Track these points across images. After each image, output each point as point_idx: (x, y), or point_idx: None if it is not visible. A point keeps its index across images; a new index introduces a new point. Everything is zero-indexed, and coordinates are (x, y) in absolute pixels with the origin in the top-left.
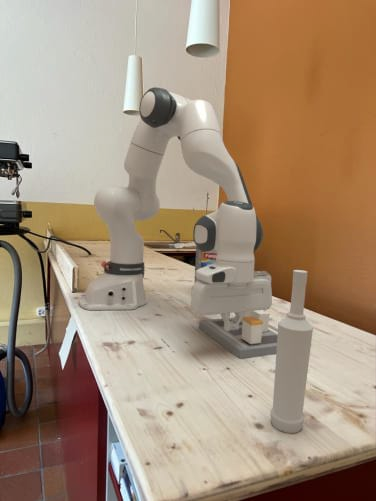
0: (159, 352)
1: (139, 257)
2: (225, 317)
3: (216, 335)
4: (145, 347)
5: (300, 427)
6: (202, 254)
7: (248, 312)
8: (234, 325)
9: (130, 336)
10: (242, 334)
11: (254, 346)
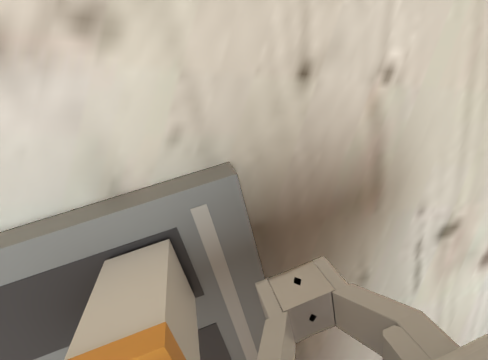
0: (457, 200)
1: None
2: (418, 314)
3: None
4: (474, 229)
5: None
6: None
7: None
8: (295, 293)
9: (476, 288)
10: (194, 309)
11: (150, 223)
